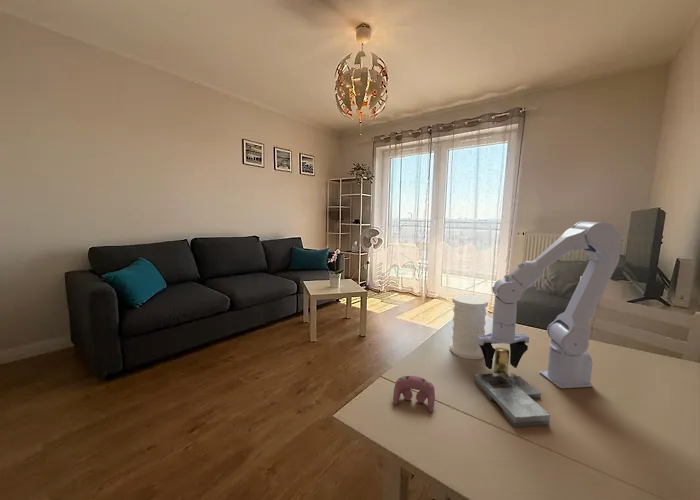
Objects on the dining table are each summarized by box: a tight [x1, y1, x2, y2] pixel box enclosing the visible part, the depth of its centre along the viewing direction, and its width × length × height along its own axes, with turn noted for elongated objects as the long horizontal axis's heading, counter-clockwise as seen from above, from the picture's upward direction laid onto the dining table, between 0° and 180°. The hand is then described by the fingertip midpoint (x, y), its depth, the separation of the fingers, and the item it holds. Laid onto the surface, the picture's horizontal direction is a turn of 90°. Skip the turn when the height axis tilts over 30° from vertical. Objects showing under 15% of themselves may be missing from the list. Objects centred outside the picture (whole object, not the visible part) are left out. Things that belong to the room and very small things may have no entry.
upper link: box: [474, 372, 551, 428], centre depth 72 cm, size 8×17×2 cm, turn 5°
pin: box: [493, 346, 510, 377], centre depth 85 cm, size 4×4×7 cm
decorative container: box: [449, 294, 489, 360], centre depth 98 cm, size 12×12×18 cm
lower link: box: [474, 375, 542, 402], centre depth 77 cm, size 13×8×1 cm, turn 95°
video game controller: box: [392, 375, 436, 413], centre depth 72 cm, size 10×5×7 cm, turn 71°
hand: (501, 366), depth 85 cm, fingers open, 7 cm apart
